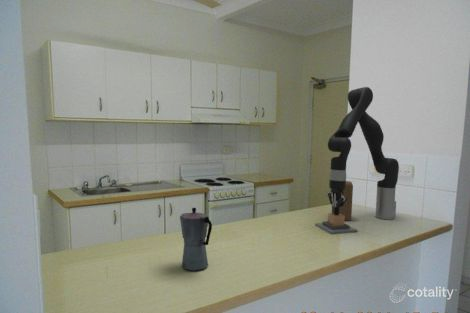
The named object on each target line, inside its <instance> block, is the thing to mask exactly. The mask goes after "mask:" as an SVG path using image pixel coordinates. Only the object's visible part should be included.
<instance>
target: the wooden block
mask: <svg viewBox="0 0 470 313" xmlns="http://www.w3.org/2000/svg"><path fill="white" fill-rule="evenodd" d="M353 189H354V185H353V182H352V181H350V180H349V181H348V180H346V189H345V190H343V192H344V195H343V196H344V197H345V198H347V200H346V202H345V203H344V205H343V206H342V207H340V208H339V213H340V214H342V215H344V216H345V222H347V221H348V222H350V221H352V217H353V216H352V213H353V212H352V211H353V197H354V196H353V194H354V193H353V191H354V190H353ZM331 213H333V205H332V204H331Z"/></svg>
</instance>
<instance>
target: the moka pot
mask: <svg viewBox="0 0 470 313" xmlns="http://www.w3.org/2000/svg"><path fill="white" fill-rule="evenodd" d="M191 211H192V212H184V213H182V214H181V215H180V216H179V219H180V228H181V235H182V238H183V252H182V261H181V262H182V263H181V268H182V269H184V270H187V271H200V270H204V269H206V268H207V267H208V266H209V263H208V255H207V254H208V253H207V249H206V248H207V247H206V246H208V245H209V243H210V242H209V241H210V238H211V233H212V228H213V225H212V221H211V220H210V219H209V215H207V214H206V213H202V212H197V208H196V207H192V208H191Z"/></svg>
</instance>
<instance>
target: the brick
mask: <svg viewBox="0 0 470 313" xmlns="http://www.w3.org/2000/svg"><path fill="white" fill-rule="evenodd" d="M327 221H328V224H330V225H332V226H343V225H344V223H345V222H346V221H345V216H344V215H342V214H340V213H339V215H335V214H333V213H332V212H331V213H328V215H327ZM345 224H346V223H345Z"/></svg>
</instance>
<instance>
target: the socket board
mask: <svg viewBox="0 0 470 313" xmlns="http://www.w3.org/2000/svg"><path fill="white" fill-rule="evenodd" d="M314 225H315V226H316V227H317V228H320V229H322V230H323V231H324V232H326V233H328V234H330V235H338V234H350V233H351V234H352V233H358V229H355V228H354V227H352V226H350V225H349V224H347V223H344V225H343V226H332V225H330V224H328V220H326V221H325V220H324V221H322V222H317V223H315V224H314Z"/></svg>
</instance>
